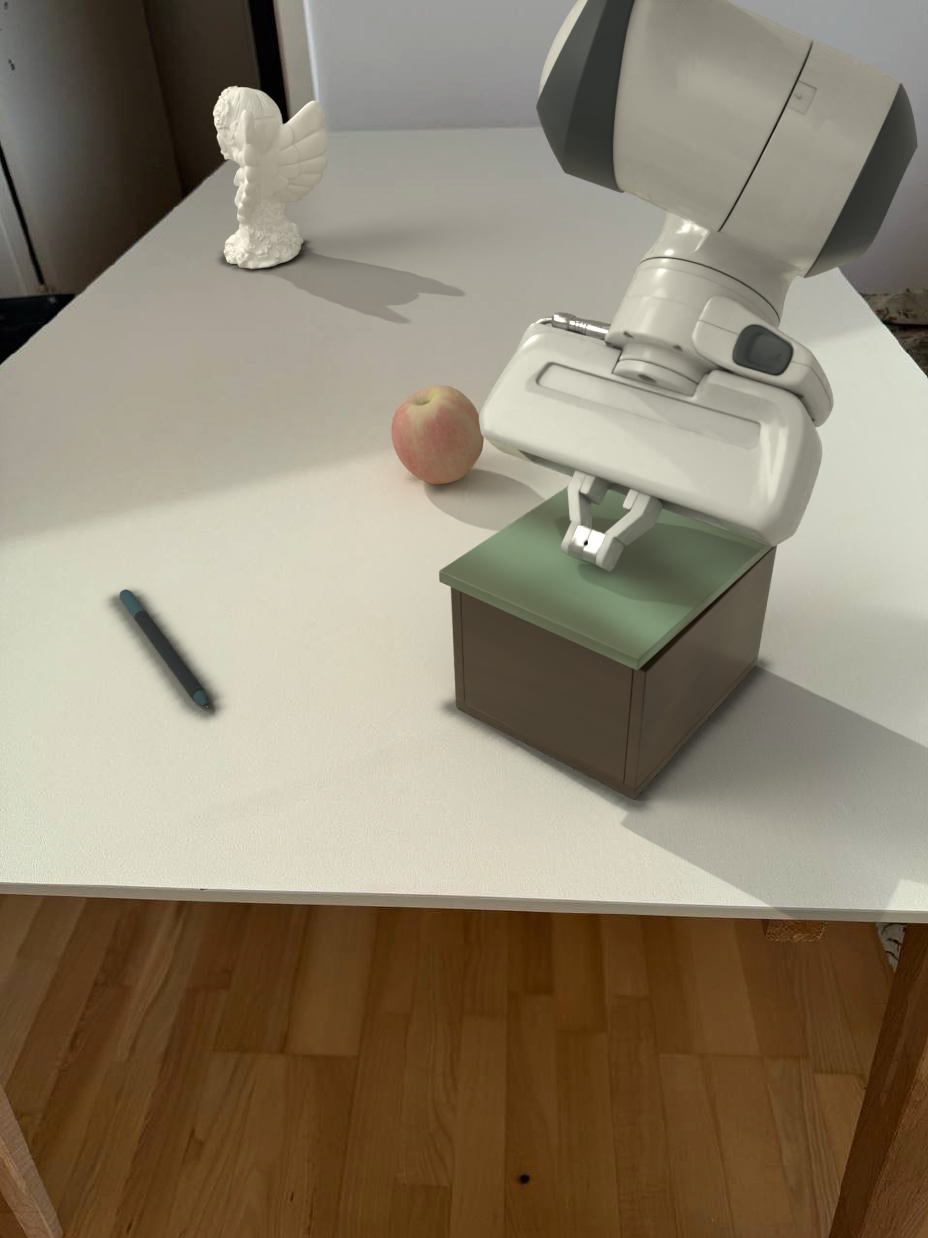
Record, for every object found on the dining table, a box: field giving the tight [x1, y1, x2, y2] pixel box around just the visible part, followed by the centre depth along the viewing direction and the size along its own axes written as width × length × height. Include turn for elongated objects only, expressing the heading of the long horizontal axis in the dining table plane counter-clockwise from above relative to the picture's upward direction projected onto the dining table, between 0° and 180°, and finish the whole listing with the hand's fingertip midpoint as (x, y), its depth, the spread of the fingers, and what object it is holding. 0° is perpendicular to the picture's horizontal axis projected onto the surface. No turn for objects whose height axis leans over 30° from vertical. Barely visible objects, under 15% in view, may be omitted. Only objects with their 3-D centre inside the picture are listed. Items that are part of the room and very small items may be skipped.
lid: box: [438, 485, 773, 670], centre depth 66 cm, size 17×14×1 cm
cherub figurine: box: [212, 85, 330, 270], centre depth 137 cm, size 13×12×20 cm
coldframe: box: [450, 545, 778, 800], centre depth 70 cm, size 16×14×10 cm
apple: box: [390, 384, 485, 485], centre depth 93 cm, size 8×8×8 cm
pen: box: [119, 589, 209, 709], centre depth 77 cm, size 1×16×1 cm, turn 34°
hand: (585, 561), depth 63 cm, fingers closed
